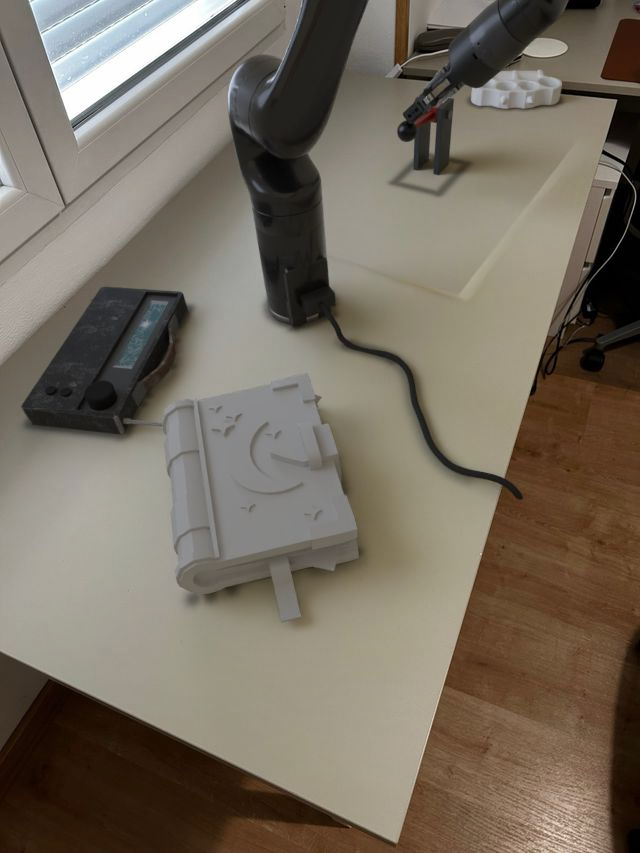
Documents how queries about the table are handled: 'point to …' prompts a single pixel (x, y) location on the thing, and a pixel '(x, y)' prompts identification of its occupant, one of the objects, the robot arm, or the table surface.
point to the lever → (416, 125)
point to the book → (256, 490)
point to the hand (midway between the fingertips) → (408, 117)
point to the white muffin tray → (518, 90)
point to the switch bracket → (440, 142)
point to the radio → (109, 361)
